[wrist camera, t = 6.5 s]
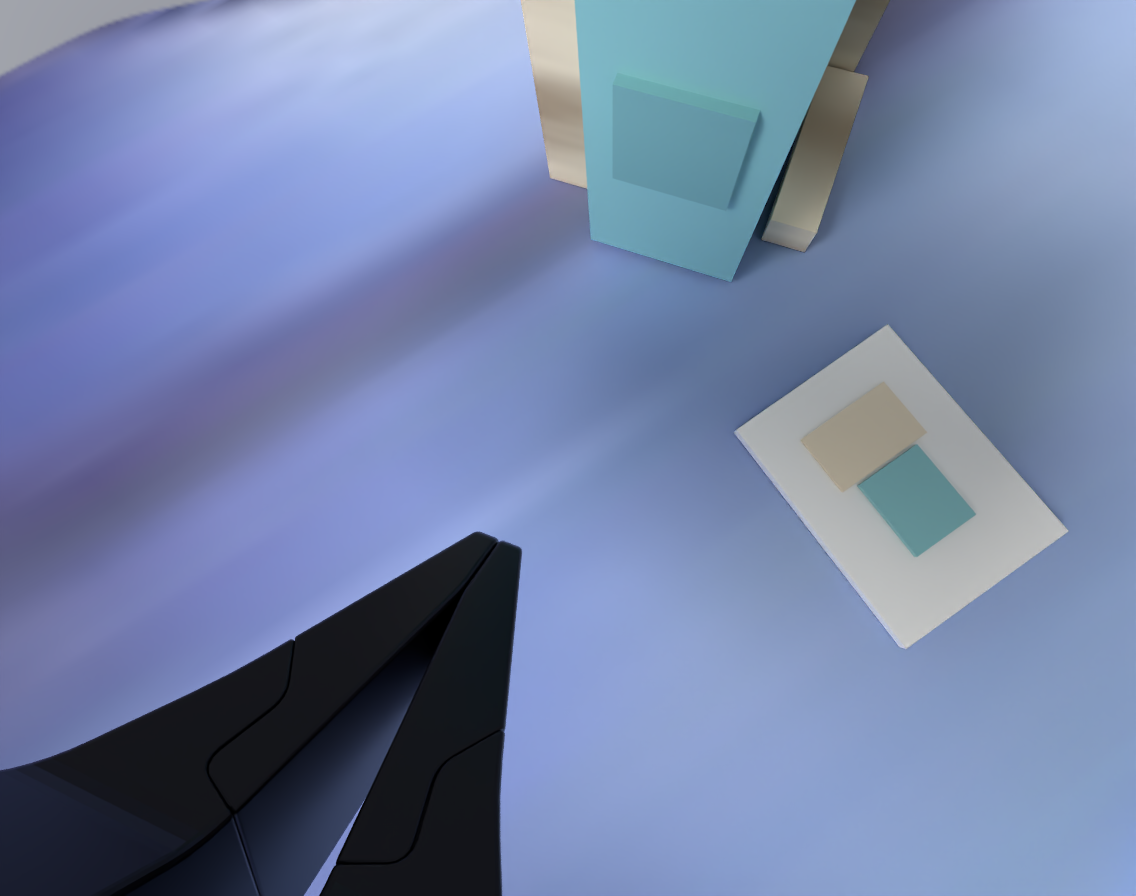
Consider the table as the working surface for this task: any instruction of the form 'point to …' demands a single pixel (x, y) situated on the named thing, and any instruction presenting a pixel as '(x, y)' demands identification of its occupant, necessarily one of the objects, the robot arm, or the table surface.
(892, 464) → the card
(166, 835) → the robot arm
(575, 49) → the maple dock
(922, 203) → the table surface
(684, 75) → the teal block
